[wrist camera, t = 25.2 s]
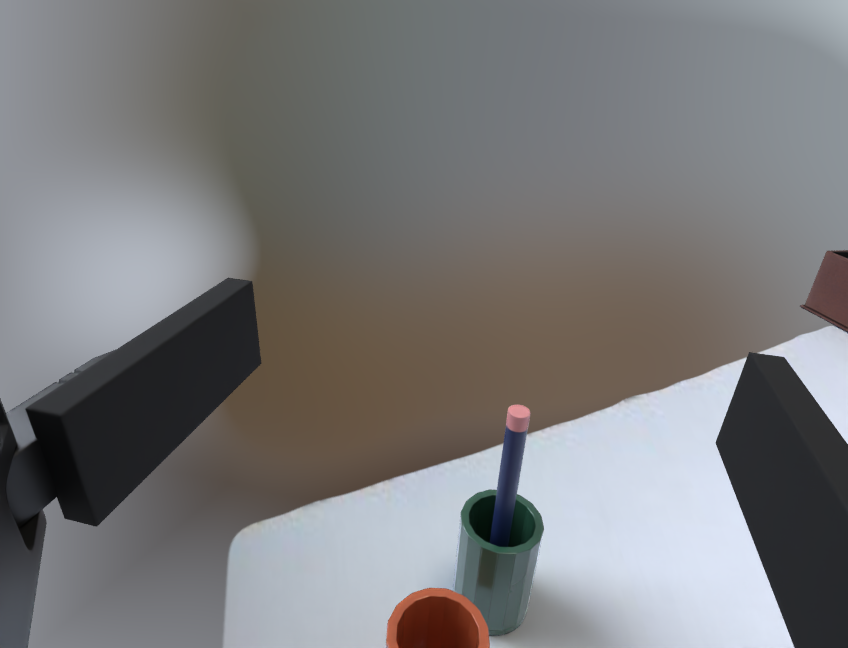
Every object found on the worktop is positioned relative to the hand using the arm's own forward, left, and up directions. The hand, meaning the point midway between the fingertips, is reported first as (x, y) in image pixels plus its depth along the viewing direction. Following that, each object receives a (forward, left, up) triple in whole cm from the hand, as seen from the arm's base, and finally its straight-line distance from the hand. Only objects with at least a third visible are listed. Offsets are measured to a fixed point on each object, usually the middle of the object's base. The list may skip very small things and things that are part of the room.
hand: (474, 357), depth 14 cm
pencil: (-1, +17, -31) cm, 36 cm away
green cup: (-1, +17, -32) cm, 36 cm away
